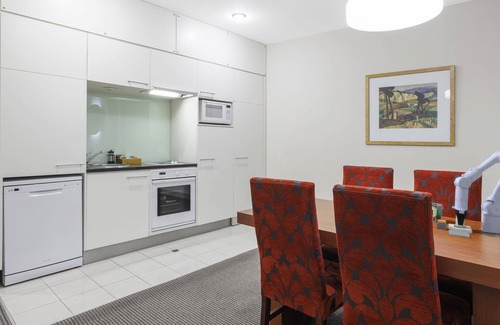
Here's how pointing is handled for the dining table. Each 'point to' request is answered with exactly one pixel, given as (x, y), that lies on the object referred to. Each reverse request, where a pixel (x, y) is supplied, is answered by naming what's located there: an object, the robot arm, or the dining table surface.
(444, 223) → the release plunger
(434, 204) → the food container
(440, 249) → the dining table surface
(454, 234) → the mat
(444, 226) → the filter housing
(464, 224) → the cylinder
